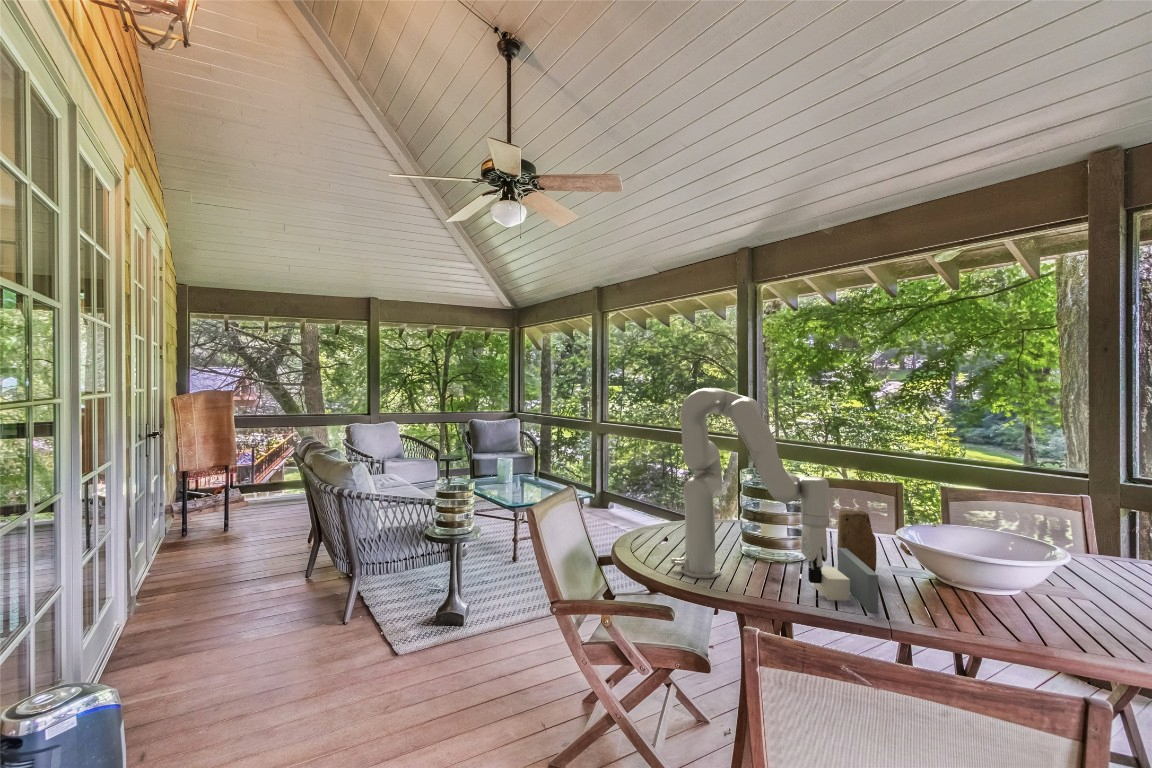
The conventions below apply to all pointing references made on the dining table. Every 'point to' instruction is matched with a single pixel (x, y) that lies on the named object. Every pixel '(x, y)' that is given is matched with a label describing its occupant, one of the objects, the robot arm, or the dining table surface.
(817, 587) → the cream block
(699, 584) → the dining table surface
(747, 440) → the robot arm
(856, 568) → the slate board
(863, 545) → the block
